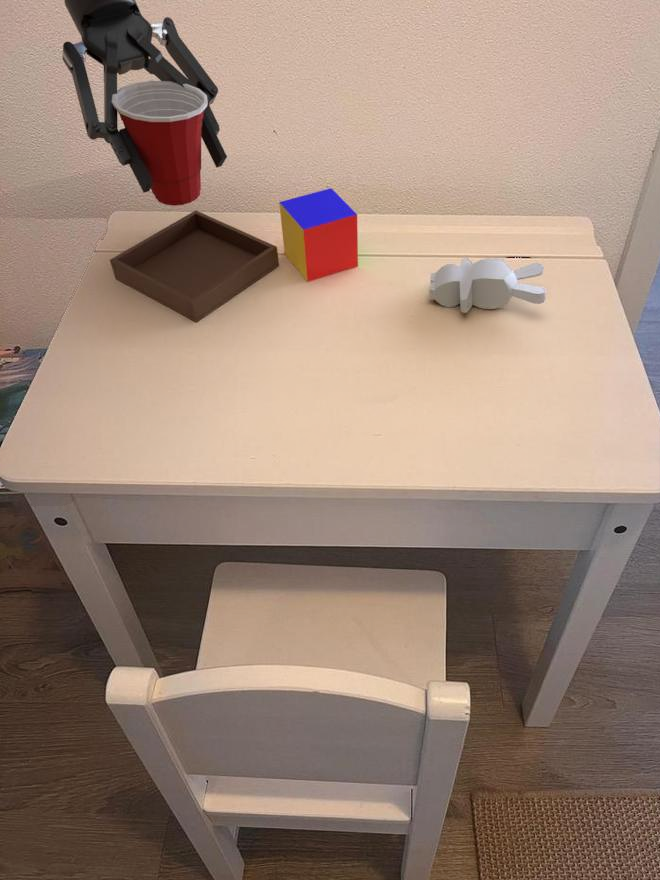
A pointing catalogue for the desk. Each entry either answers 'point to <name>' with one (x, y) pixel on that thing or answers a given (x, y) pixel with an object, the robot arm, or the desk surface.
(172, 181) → the plastic cup
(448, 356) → the desk surface
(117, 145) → the robot arm
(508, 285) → the bunny figurine
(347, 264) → the cube
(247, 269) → the tray
